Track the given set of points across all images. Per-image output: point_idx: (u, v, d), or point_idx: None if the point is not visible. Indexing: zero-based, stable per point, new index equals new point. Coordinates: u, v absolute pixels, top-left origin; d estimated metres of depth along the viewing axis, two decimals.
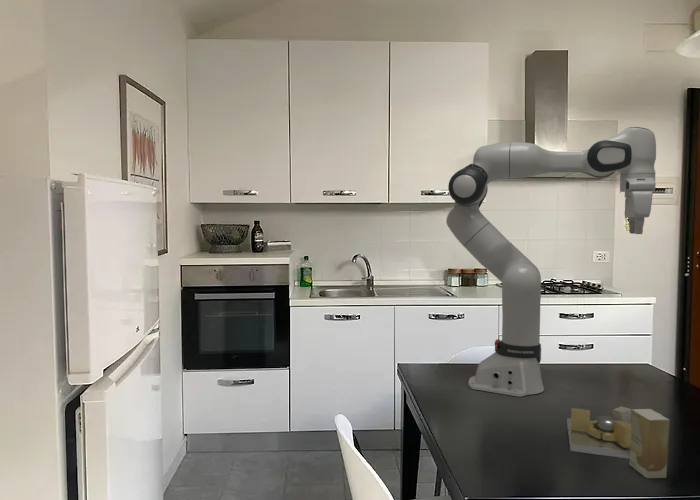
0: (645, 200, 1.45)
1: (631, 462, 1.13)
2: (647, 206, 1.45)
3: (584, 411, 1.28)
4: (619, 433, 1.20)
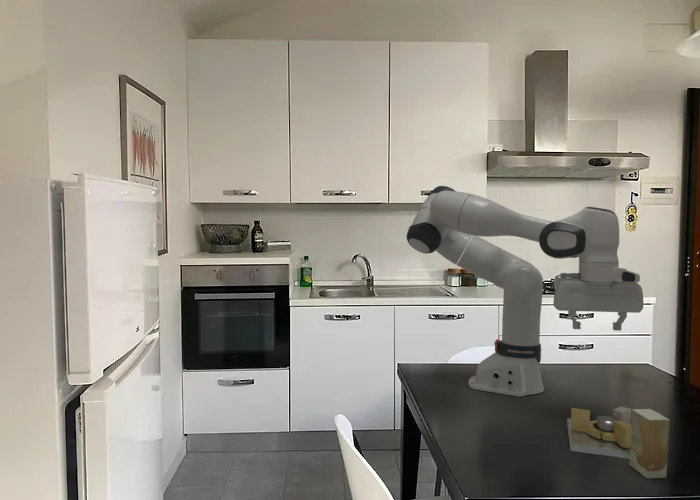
0: None
1: (631, 462, 1.13)
2: None
3: (584, 411, 1.28)
4: (619, 433, 1.20)
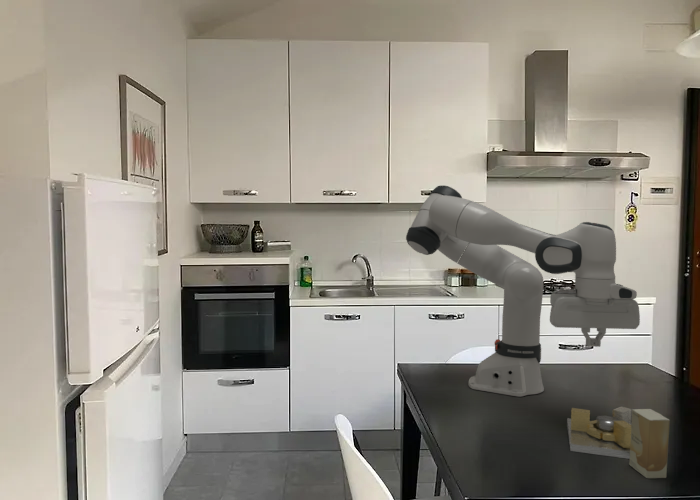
0: None
1: (631, 462, 1.13)
2: None
3: (584, 411, 1.28)
4: (619, 433, 1.20)
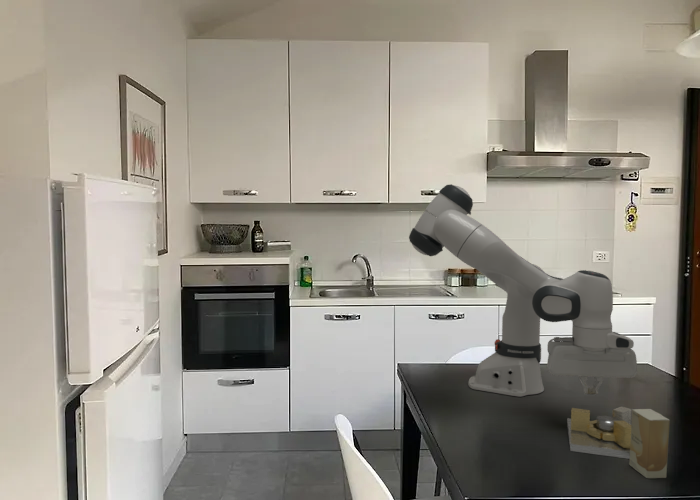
0: None
1: (631, 462, 1.13)
2: None
3: (584, 411, 1.28)
4: (619, 433, 1.20)
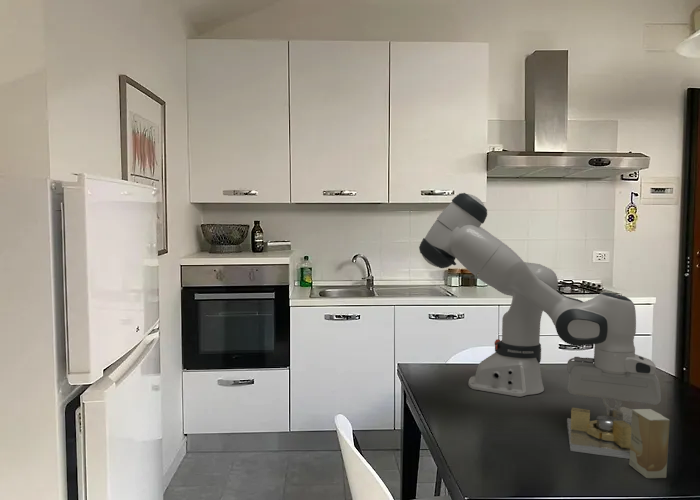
0: None
1: (631, 462, 1.13)
2: None
3: (584, 411, 1.28)
4: (618, 433, 1.20)
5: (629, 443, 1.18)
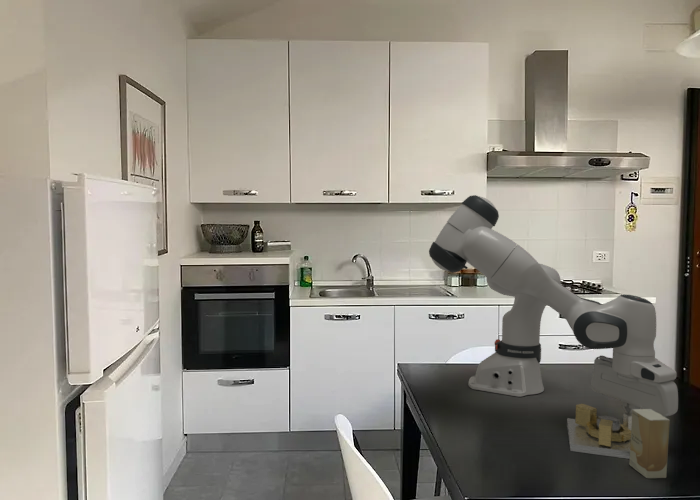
0: (674, 396, 1.20)
1: (631, 462, 1.13)
2: (676, 403, 1.20)
3: (588, 407, 1.31)
4: None
5: (606, 441, 1.19)
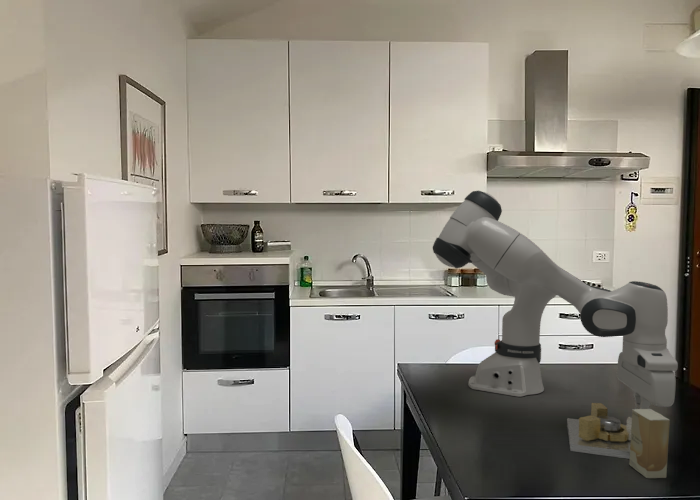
0: (668, 386, 1.14)
1: (631, 462, 1.13)
2: (671, 395, 1.14)
3: (599, 406, 1.31)
4: None
5: (584, 435, 1.23)
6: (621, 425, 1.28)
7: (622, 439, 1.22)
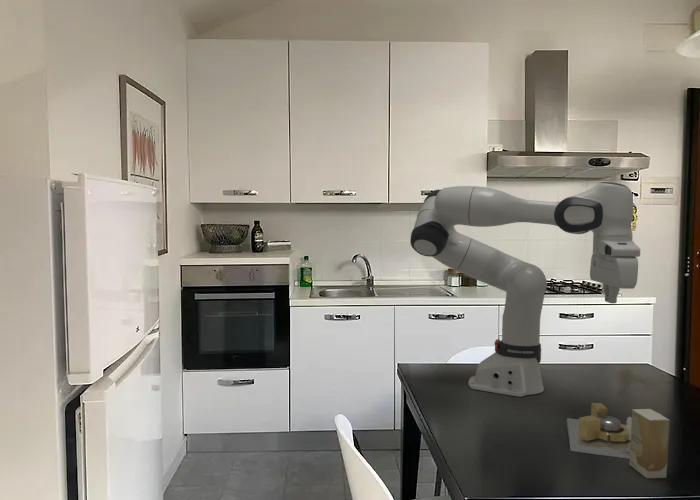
0: (631, 269, 1.26)
1: (631, 462, 1.13)
2: (634, 277, 1.26)
3: (599, 406, 1.31)
4: None
5: (584, 435, 1.23)
6: (621, 425, 1.28)
7: (622, 439, 1.22)
